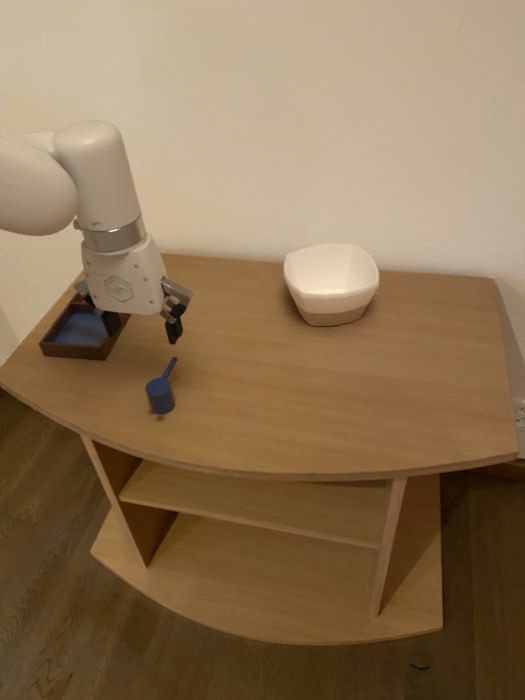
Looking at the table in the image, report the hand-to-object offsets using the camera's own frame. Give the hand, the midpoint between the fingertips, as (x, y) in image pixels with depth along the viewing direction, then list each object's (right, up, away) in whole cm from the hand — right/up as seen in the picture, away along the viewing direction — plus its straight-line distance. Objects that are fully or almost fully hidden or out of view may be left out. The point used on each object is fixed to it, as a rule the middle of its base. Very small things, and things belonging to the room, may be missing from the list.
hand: (145, 334), depth 74 cm
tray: (-16, +5, +29) cm, 33 cm away
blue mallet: (+1, -10, +12) cm, 15 cm away
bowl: (+30, +6, +27) cm, 41 cm away
